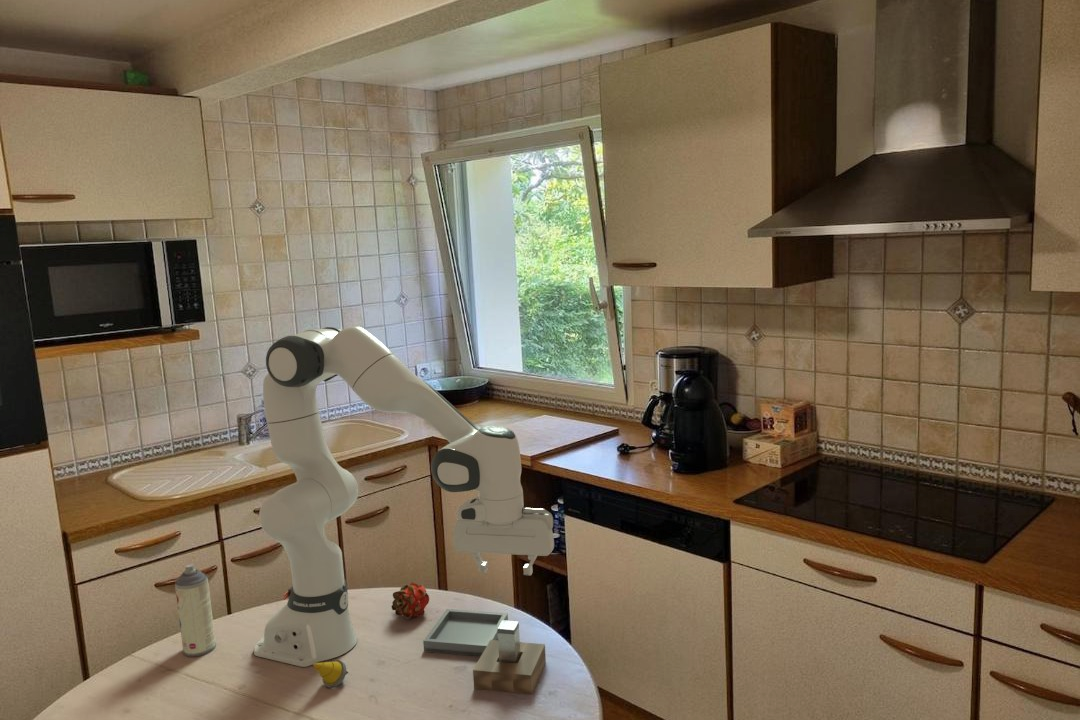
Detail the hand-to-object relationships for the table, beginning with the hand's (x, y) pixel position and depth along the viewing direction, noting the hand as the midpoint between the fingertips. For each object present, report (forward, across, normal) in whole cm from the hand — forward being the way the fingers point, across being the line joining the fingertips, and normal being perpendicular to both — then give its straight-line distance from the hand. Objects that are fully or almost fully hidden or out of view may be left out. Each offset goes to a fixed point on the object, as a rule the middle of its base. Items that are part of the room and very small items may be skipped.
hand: (505, 572), depth 160 cm
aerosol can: (+22, +73, +1) cm, 76 cm away
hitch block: (+22, 0, 0) cm, 22 cm away
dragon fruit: (+22, +31, -22) cm, 44 cm away
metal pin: (+22, 0, 0) cm, 22 cm away
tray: (+22, +14, -14) cm, 30 cm away
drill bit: (+22, +35, +10) cm, 43 cm away
